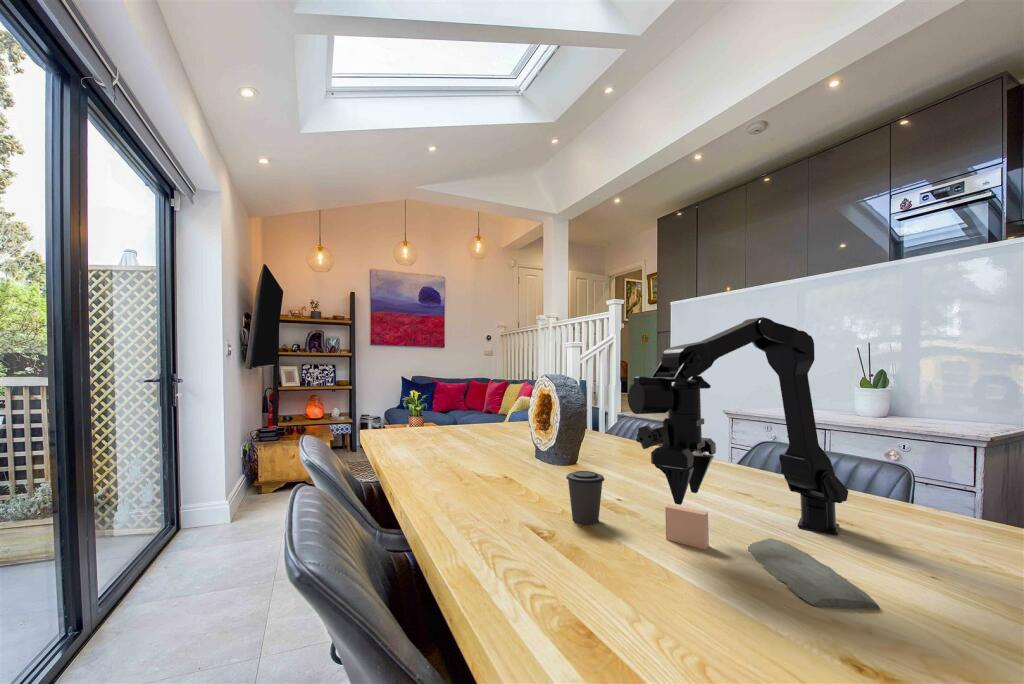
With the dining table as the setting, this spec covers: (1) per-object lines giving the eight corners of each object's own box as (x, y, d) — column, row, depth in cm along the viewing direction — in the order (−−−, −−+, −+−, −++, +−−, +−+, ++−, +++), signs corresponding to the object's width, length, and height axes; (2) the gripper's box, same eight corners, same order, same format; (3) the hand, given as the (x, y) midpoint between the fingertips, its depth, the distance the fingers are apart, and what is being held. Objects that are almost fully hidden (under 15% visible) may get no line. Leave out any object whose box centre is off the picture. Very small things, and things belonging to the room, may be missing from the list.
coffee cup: (608, 528, 85) (608, 477, 86) (568, 527, 86) (567, 476, 86) (601, 514, 93) (600, 468, 94) (564, 514, 94) (563, 467, 94)
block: (669, 536, 81) (669, 504, 82) (708, 546, 77) (707, 512, 77) (666, 539, 80) (665, 506, 80) (705, 549, 75) (704, 514, 76)
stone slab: (813, 621, 57) (889, 612, 56) (809, 599, 57) (885, 590, 57) (732, 552, 79) (786, 545, 79) (729, 537, 79) (783, 530, 79)
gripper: (659, 407, 92) (661, 481, 91) (622, 414, 78) (623, 501, 77) (715, 410, 85) (717, 490, 84) (685, 418, 71) (687, 514, 70)
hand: (686, 498), depth 79 cm, fingers open, 9 cm apart
